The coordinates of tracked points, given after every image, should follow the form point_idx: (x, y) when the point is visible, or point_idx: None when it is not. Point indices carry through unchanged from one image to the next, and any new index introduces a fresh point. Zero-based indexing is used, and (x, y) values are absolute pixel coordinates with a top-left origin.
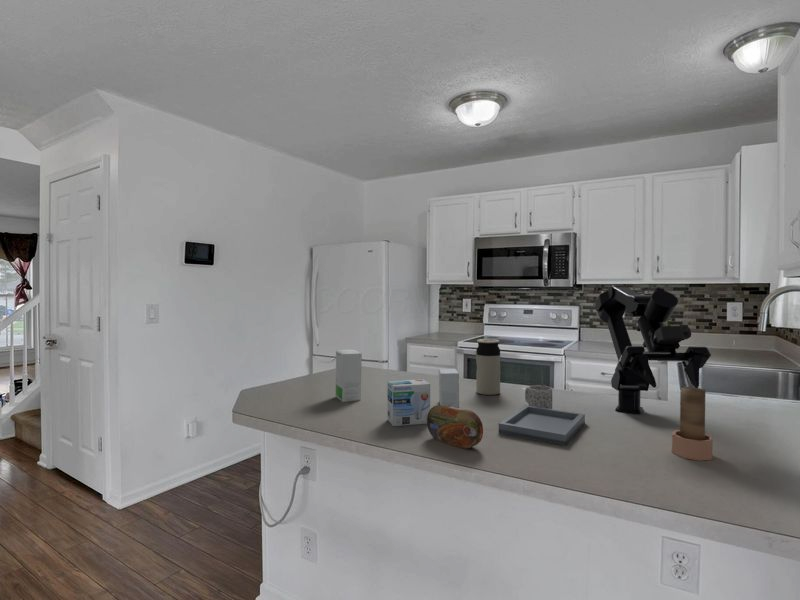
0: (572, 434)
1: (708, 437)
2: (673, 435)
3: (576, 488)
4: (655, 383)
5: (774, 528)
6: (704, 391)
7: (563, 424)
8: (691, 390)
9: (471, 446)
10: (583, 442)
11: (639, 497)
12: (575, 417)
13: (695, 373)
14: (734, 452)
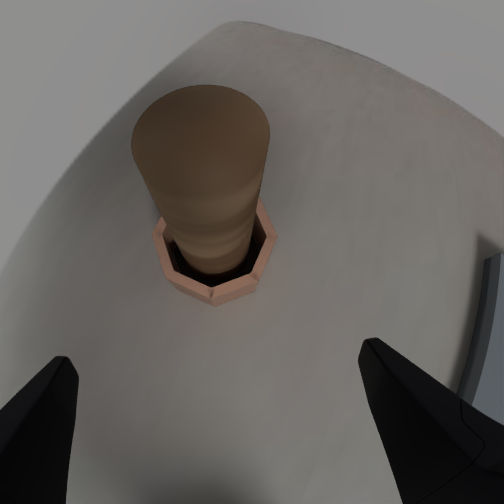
0: (480, 323)
1: (163, 236)
2: (275, 232)
3: (441, 96)
4: (374, 345)
5: (239, 24)
6: (158, 99)
7: (488, 393)
8: (221, 109)
9: None
10: (459, 293)
11: (374, 70)
12: None
13: (13, 420)
14: (95, 283)
